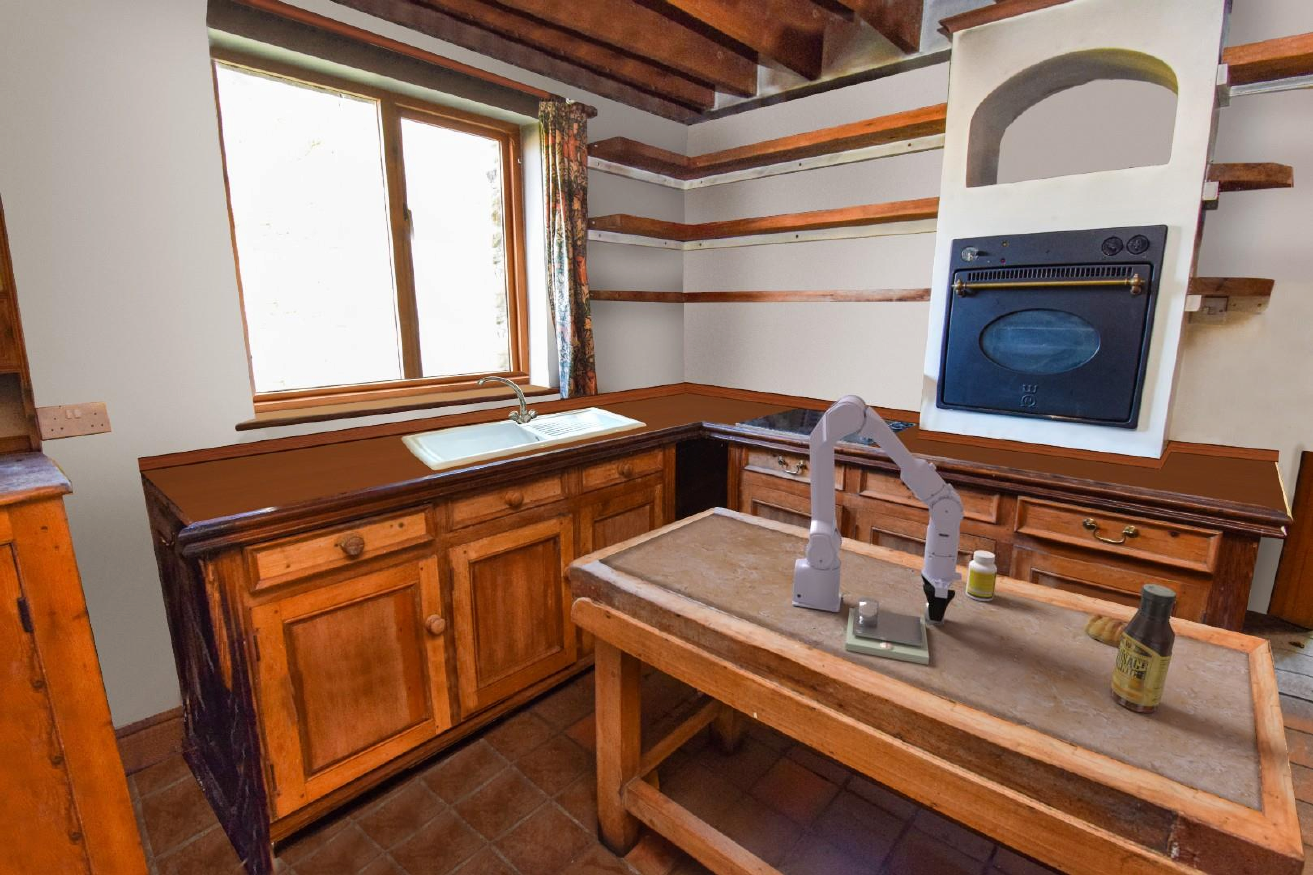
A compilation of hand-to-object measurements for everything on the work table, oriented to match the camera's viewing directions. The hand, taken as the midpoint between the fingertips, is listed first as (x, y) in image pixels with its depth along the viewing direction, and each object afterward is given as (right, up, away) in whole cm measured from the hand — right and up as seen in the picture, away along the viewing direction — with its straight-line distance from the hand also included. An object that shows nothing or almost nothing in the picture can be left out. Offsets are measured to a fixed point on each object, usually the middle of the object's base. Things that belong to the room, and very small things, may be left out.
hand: (934, 615), depth 122 cm
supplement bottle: (+14, +1, +11) cm, 18 cm away
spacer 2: (0, -1, 0) cm, 2 cm away
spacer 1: (-15, 0, -4) cm, 15 cm away
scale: (-12, -3, -5) cm, 13 cm away
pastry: (+31, -3, -6) cm, 32 cm away
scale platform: (-12, -2, -5) cm, 13 cm away
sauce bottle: (+20, -7, -25) cm, 33 cm away
